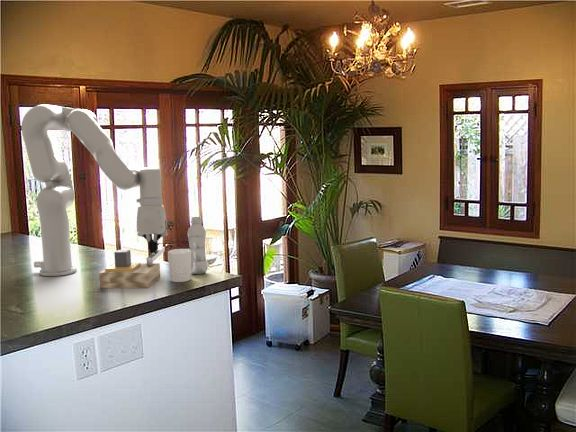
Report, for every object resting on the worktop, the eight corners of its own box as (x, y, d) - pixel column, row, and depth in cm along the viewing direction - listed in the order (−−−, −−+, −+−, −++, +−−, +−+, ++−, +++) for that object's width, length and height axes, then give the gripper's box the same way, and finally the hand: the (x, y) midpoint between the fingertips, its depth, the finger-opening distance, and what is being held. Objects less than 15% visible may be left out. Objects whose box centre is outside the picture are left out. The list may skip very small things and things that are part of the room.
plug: (105, 280, 202) (104, 253, 201) (115, 274, 211) (114, 248, 210) (132, 280, 202) (131, 253, 200) (141, 274, 210) (139, 248, 209)
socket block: (99, 287, 201) (99, 272, 201) (115, 277, 215) (114, 263, 214) (147, 287, 200) (147, 272, 199) (160, 277, 214) (159, 263, 213)
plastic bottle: (195, 276, 214) (193, 219, 211) (185, 273, 219) (183, 217, 216) (211, 273, 218) (209, 217, 215) (201, 270, 223) (199, 215, 220)
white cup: (189, 276, 215) (188, 248, 214) (194, 281, 208) (193, 252, 206) (167, 278, 212) (165, 250, 211) (171, 283, 205) (170, 254, 204)
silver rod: (159, 253, 228) (159, 246, 228) (165, 253, 228) (164, 246, 228) (146, 266, 208) (145, 258, 207) (152, 266, 208) (151, 258, 207)
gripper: (127, 203, 219) (129, 254, 221) (168, 203, 217) (170, 254, 220) (134, 200, 226) (136, 250, 228) (174, 200, 225) (176, 250, 227)
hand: (153, 252), depth 224 cm, fingers closed
